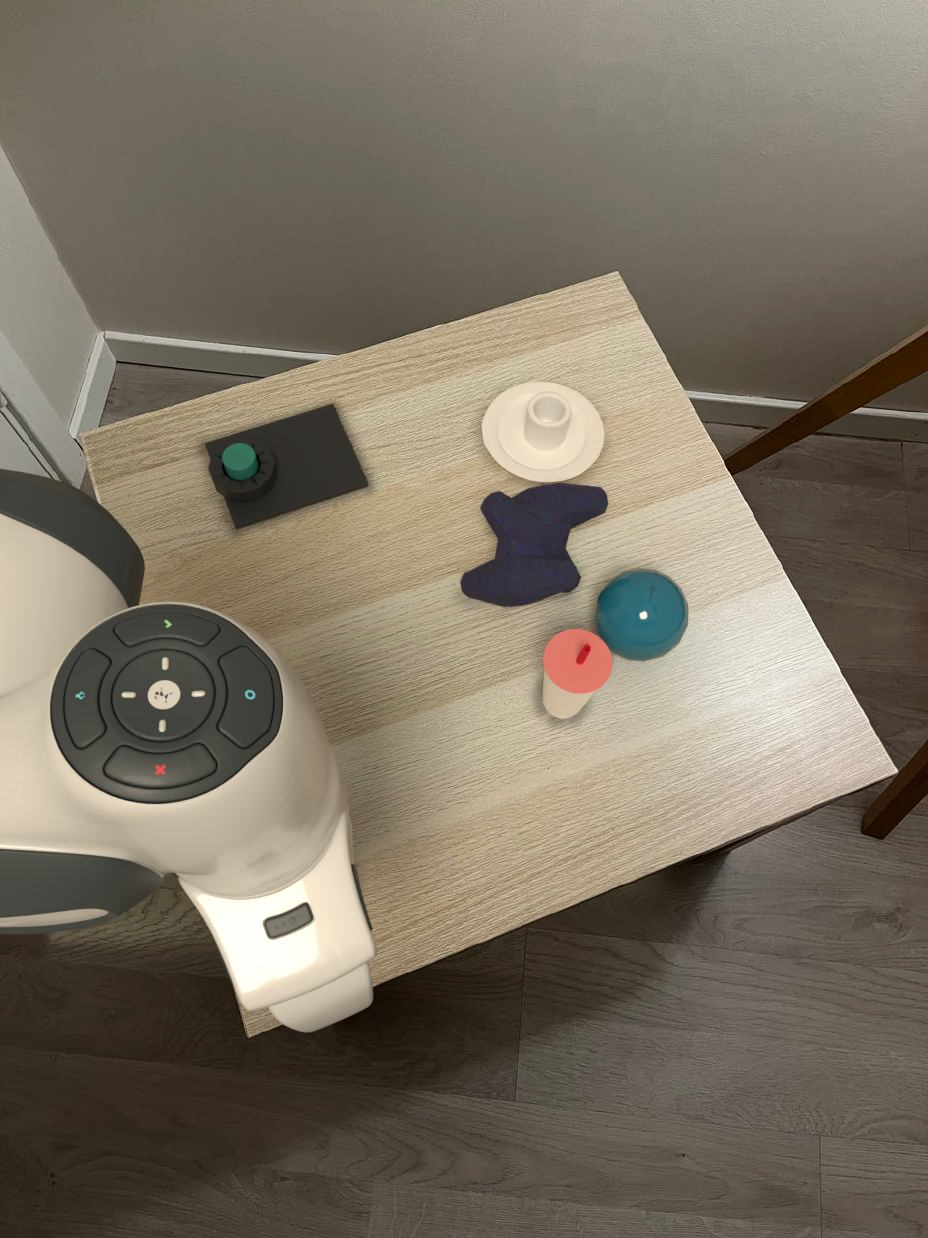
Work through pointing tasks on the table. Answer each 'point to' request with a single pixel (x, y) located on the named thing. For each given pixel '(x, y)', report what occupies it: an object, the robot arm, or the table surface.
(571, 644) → the cup
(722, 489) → the table surface
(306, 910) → the robot arm
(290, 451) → the black button base plate
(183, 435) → the table surface
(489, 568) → the tetrapod
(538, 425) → the candle holder
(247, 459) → the button
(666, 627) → the ball
